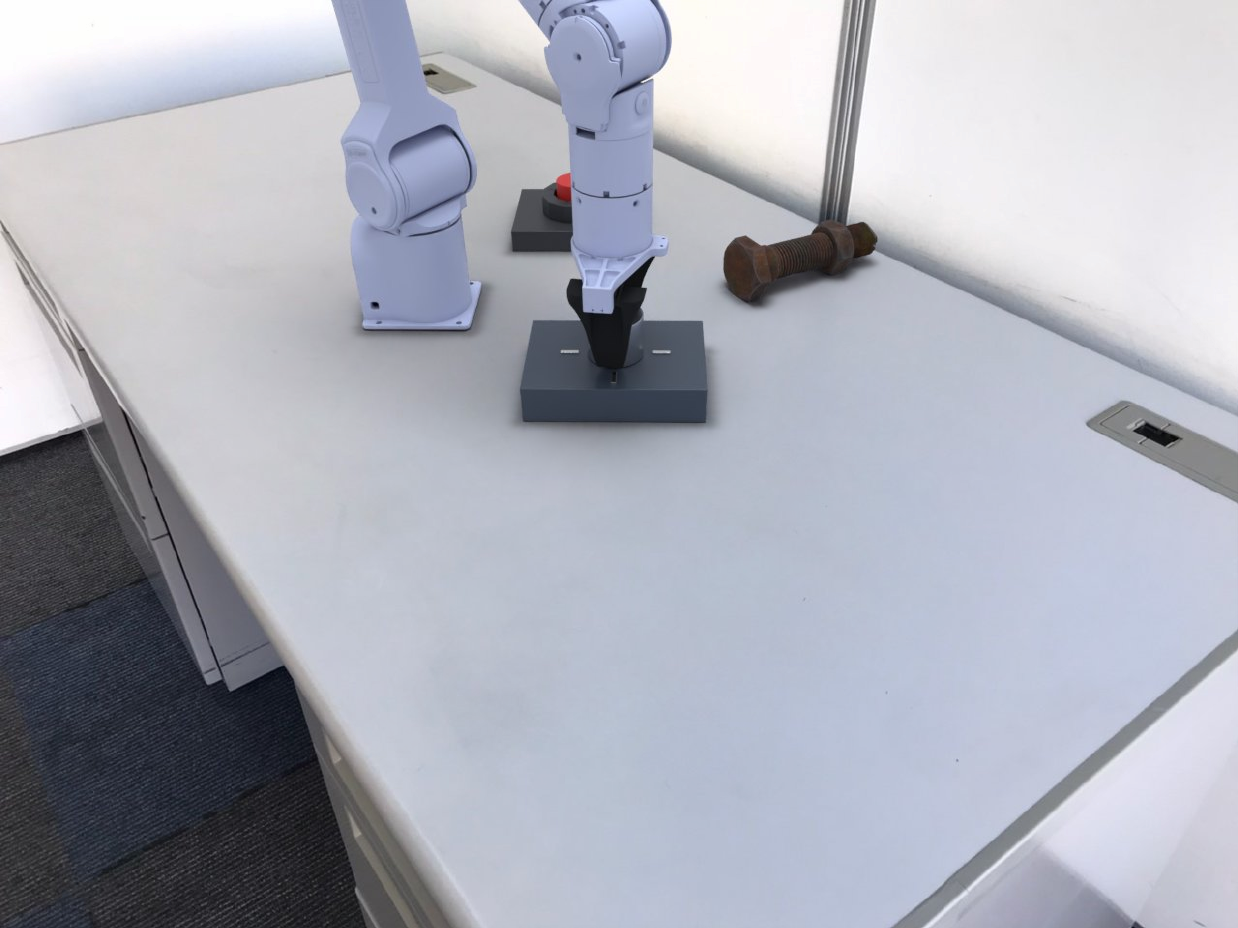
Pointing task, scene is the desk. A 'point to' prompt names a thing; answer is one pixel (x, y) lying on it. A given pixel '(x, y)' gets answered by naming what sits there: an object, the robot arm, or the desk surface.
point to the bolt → (794, 256)
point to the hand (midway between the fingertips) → (615, 347)
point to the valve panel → (615, 376)
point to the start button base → (542, 222)
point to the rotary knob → (631, 341)
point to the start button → (564, 187)
